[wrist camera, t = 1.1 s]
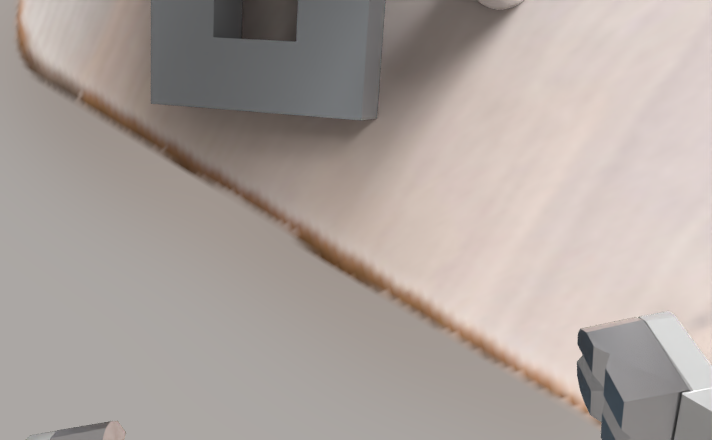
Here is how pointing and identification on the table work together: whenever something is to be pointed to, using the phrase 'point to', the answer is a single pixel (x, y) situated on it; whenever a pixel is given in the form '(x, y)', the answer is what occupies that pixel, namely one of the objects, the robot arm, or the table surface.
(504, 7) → the post
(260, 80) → the socket base
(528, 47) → the table surface
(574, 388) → the table surface
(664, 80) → the table surface
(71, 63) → the table surface
